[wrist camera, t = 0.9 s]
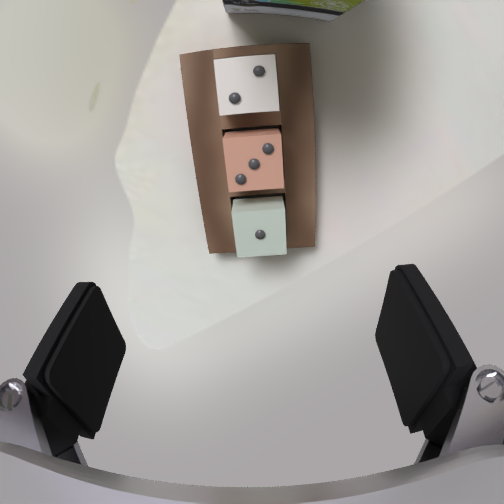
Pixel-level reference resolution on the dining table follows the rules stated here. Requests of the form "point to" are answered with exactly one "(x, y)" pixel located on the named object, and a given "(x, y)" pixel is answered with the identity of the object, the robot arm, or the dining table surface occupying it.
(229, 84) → the two-pip tile
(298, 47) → the tile board
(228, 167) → the pink three-dot die face
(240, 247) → the pale grey square block
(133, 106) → the dining table surface
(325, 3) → the tea box
